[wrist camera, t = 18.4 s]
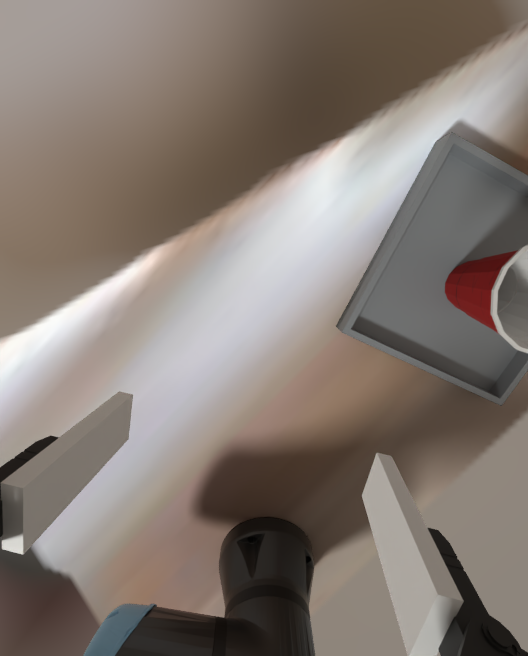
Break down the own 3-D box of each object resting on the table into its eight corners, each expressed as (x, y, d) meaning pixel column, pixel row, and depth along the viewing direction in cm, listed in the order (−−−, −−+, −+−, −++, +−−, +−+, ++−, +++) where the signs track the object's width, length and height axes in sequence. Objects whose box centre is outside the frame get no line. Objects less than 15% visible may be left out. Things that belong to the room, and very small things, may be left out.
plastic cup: (507, 226, 35) (626, 214, 24) (514, 312, 38) (625, 338, 26) (416, 253, 36) (490, 253, 24) (429, 335, 39) (501, 370, 27)
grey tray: (484, 395, 42) (501, 405, 39) (335, 326, 39) (341, 332, 36) (599, 234, 37) (628, 233, 34) (435, 142, 34) (451, 131, 31)
